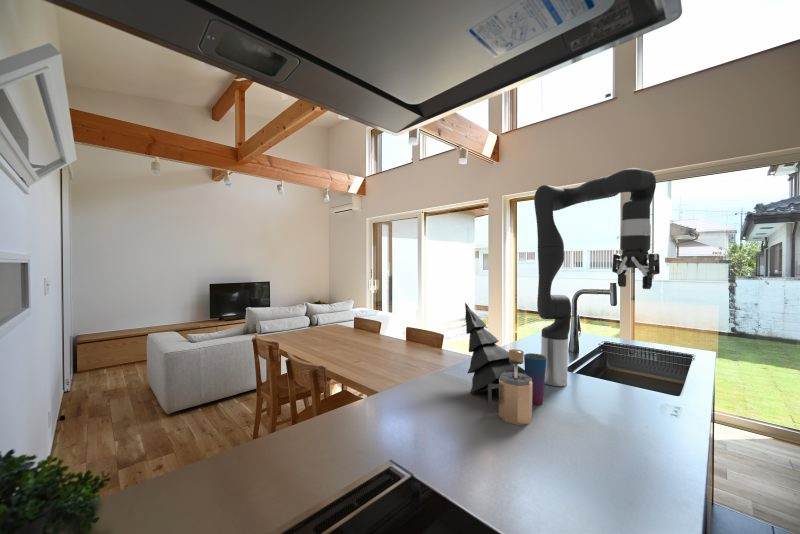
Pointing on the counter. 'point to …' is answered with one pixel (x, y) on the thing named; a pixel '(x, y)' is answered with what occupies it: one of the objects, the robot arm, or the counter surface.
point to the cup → (536, 375)
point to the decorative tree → (485, 354)
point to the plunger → (516, 359)
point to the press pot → (513, 398)
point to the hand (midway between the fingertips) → (633, 287)
